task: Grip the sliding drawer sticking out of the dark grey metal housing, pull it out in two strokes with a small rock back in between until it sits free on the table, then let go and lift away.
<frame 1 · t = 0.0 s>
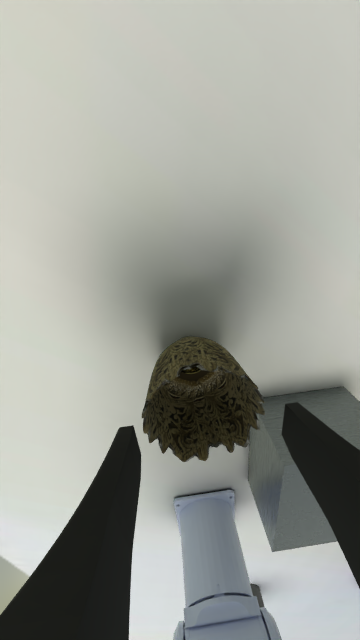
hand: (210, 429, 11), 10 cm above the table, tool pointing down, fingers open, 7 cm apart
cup: (188, 349, 21), on the table
housing: (290, 438, 27), on the table
candle holder: (243, 589, 45), on the table
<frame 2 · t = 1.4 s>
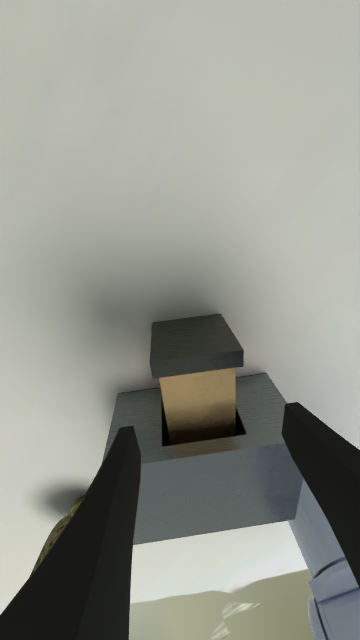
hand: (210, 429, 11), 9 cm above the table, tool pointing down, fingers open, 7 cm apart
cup: (89, 501, 28), on the table
housing: (196, 421, 23), on the table
sliding drawer: (191, 369, 21), on the table
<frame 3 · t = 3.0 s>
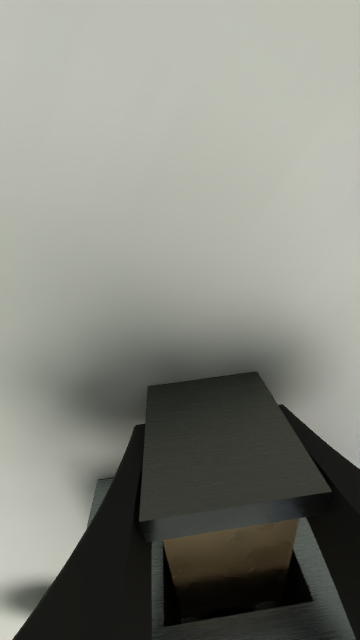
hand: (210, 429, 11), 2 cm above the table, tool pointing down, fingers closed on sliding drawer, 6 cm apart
housing: (212, 507, 16), on the table
sliding drawer: (207, 447, 14), on the table, touching gripper
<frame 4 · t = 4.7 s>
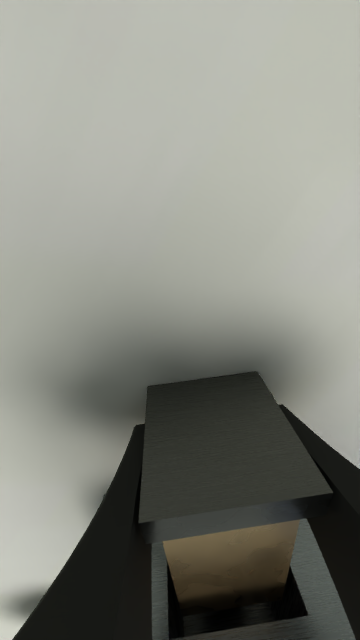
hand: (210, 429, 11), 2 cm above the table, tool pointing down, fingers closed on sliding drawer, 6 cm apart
housing: (213, 519, 17), on the table
sliding drawer: (208, 447, 14), on the table, touching gripper
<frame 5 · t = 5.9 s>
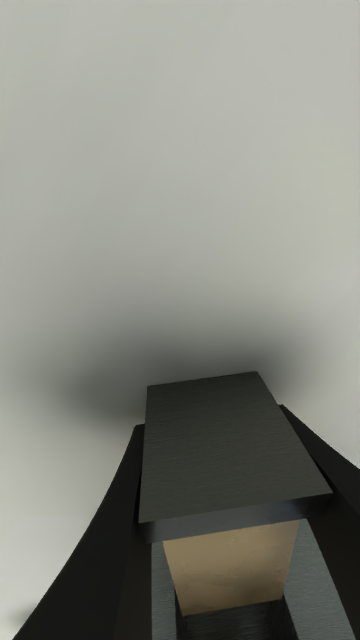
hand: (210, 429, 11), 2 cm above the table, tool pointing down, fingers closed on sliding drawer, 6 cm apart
housing: (215, 541, 19), on the table
sliding drawer: (207, 447, 14), on the table, touching gripper
when the fingers open (2 cm above the table, at t = 6.7 s): sliding drawer stays where it is, on the table.
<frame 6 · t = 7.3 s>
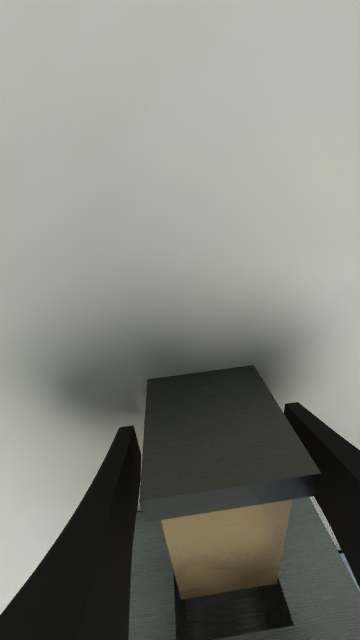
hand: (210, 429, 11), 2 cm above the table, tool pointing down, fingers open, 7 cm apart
housing: (213, 534, 19), on the table
sliding drawer: (205, 439, 14), on the table
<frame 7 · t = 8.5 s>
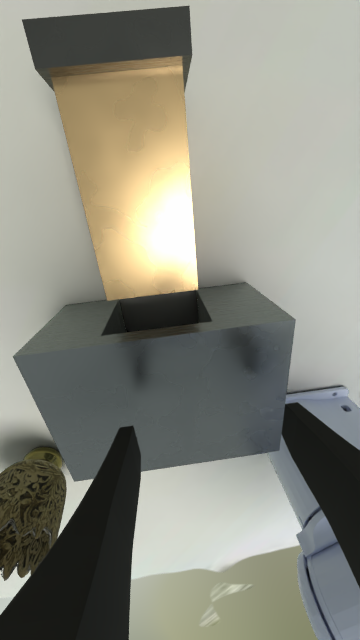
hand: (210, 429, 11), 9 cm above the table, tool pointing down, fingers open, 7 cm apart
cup: (47, 453, 24), on the table
housing: (166, 348, 20), on the table
sliding drawer: (143, 198, 15), on the table
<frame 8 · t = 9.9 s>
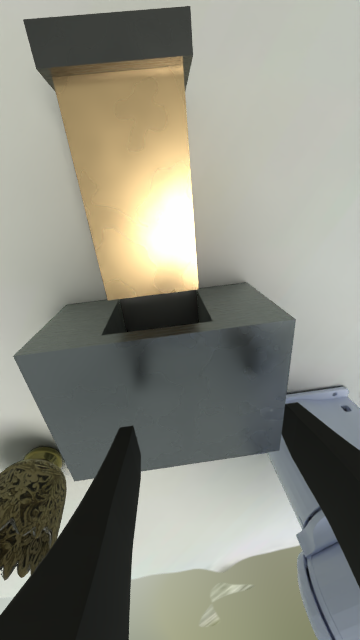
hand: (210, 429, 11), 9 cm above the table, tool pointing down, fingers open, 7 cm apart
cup: (47, 453, 24), on the table
housing: (166, 348, 20), on the table
sliding drawer: (143, 198, 15), on the table
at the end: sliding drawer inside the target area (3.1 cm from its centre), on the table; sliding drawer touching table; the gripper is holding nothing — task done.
